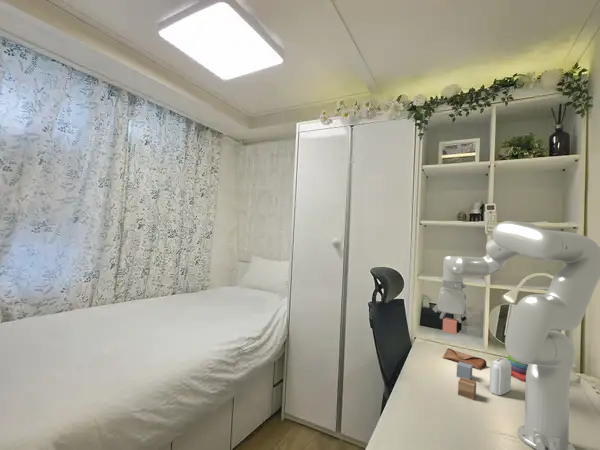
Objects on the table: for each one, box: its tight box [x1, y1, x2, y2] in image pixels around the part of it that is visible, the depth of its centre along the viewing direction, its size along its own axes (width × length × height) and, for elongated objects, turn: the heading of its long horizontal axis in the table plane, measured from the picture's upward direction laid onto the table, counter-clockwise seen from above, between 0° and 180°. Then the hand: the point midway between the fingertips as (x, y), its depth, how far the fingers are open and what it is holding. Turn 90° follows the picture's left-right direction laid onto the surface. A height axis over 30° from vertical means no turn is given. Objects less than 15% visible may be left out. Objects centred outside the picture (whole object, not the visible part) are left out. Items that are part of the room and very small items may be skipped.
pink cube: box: [442, 316, 458, 335], centre depth 120 cm, size 5×5×5 cm
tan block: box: [457, 377, 477, 401], centre depth 108 cm, size 5×5×5 cm
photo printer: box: [489, 357, 512, 396], centre depth 113 cm, size 10×4×12 cm, turn 123°
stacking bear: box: [507, 354, 528, 383], centre depth 130 cm, size 11×10×18 cm
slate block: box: [456, 362, 473, 380], centre depth 124 cm, size 5×5×5 cm
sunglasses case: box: [442, 348, 488, 371], centre depth 142 cm, size 18×7×7 cm
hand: (450, 329), depth 120 cm, fingers closed on pink cube, 4 cm apart
